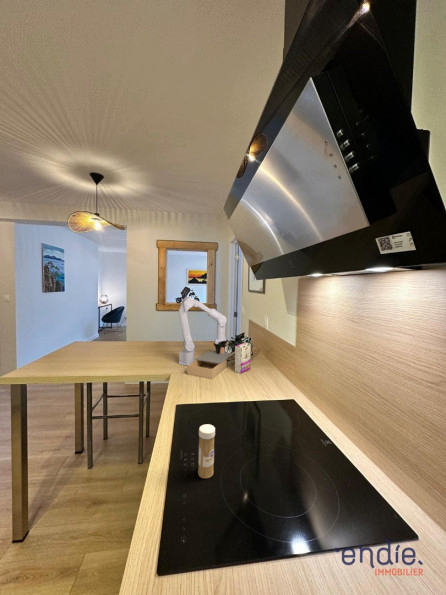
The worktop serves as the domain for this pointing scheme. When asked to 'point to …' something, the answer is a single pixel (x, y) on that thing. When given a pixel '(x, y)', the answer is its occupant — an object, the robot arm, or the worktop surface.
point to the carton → (206, 369)
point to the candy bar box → (242, 357)
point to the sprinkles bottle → (206, 450)
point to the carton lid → (214, 356)
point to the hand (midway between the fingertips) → (220, 352)
